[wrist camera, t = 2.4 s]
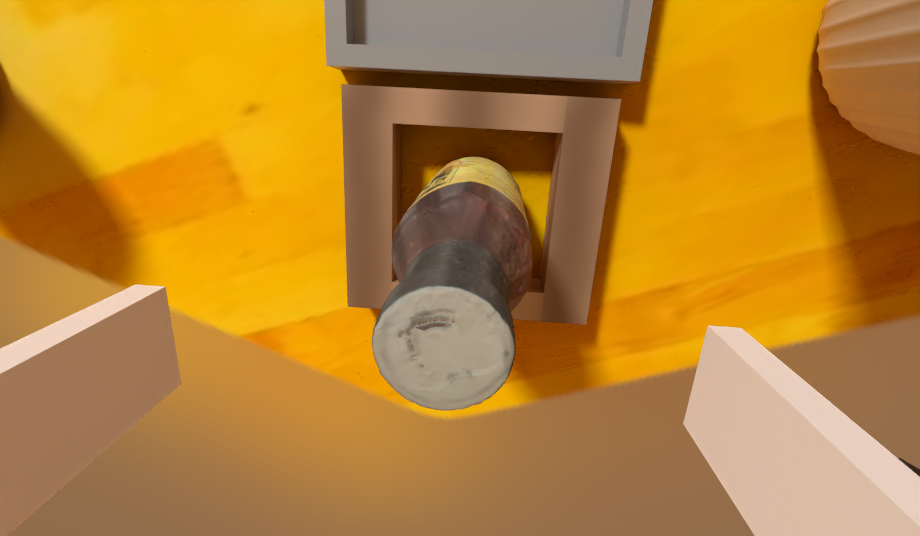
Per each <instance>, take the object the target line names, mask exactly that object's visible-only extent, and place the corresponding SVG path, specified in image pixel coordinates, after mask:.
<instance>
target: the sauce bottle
mask: <svg viewBox="0 0 920 536" xmlns="http://www.w3.org/2000/svg"><path fill="white" fill-rule="evenodd" d="M391 253H392V262H393V266H394V269H395V272H396V275H397V278H398V280H399V284H398V285H397V286H396V287H395V288H394V289H393V290H392V291H391V292H390V294H389V296H388V297H387V299H386V301H385V302H384V304H383V306H382V310H381V312H380V314H379V316H378V319H377V321H376V324H375V326H374V330H373V337H372V346H373V354H374V357H375V361H376V363H377V365H378V368H379V371H380V374H381V375H382V376H383V377H384V379H385V380H386V381H387V382H388V383H389V384H390V386H391V387H392V388H393V389H394V390H395V391H397V392H398V393H399V394H400V395H402V396H403V397H404V398H405V399H407V400H409V401H411V402H413V403H416V404H418V405H419V406H422V407H426V408H431V409H435V410H456V409H464V408H467V407H470V406H472V405H477V404H480V403H482V402H483V401H484V400H486V399H488V398H490V397H491V396H492V395H493V394H495V393H496V392H497V391H498V390H499V389H500V388H501V387H502V385H503V384H504V383H505V381H506V380H507V378H508V376H509V374H510V371H511V369H512V366H513V361H514V356H515V333H514V325H513V319H512V314H511V312H512V311H513V309H514V308H516V306H517V305H518V304H519V303H520V301H521V300H522V298H523V296H524V295H525V293H526V291H527V289H528V286H529V284H530V282H531V274H532V271H533V269H532V264H533V259H532V254H533V253H532V243H531V234H530V229H529V225H528V221H527V217H526V213H525V209H524V205H523V200H522V197H521V193H520V189H519V186H518V184H517V183H516V181H515V180H514V178H513V177H512V176H511V174H510V173H509V172H508V171H507V170H506V169H505V168H503V167H502V166H501V165H499V164H498V163H496V162H494V161H492V160H490V159H488V158H485V157H477V156H473V157H465V158H461V159H457V160H454V161H452V162H450V163H448V164H447V165H445V166H444V167H443V168H442V169H440V170H439V172H438V173H437V174H436V175H435V176H434V178H433V179H432V180H431V181H430V183H429V184H428V185H427V186H426V187H425V189H424V190H423V191H422V192H421V193H420V194H419V196H418V197H417V198H416V200H415V201H414V202H413V204H412V205H411V206H410V207H409V208H408V210H407V212H406V213H405V215H404V216H403V218H402V219H401V221H400V223H399V224H398V226H397V229H396V231H395V234H394V237H393V242H392V250H391Z"/></svg>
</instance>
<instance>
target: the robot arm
mask: <svg viewBox="0 0 920 536" xmlns="http://www.w3.org/2000/svg"><path fill="white" fill-rule="evenodd" d="M180 384H181V379H180V373H179V366H178V361H177V355H176V348H175V342H174V336H173V331H172V325H171V318H170V312H169V306H168V300H167V294H166V288H165V287H163V286H149V285H133V286H131V287H129V288H127V289H125V290H123V291H121V292H118V293H116V294H114V295H112V296H110V297H108V298H106V299H104V300H102V301H100V302H97V303H95V304H93V305H91V306H89V307H87V308H85V309H83V310H81V311H79V312H76V313H75V314H72V315H70V316H68V317H66V318H64V319H62V320H60V321H58V322H56V323H53V324H51V325H49V326H47V327H45V328H43V329H41V330H39V331H37V332H35V333H32V334H30V335H28V336H26V337H24V338H22V339H20V340H18V341H16V342H14V343H12V344H9V345H7V346H5V347H3V348H1V349H0V536H7V535H8V534H9V533H10V532H12V531H13V530H14V529H15V528H16V527H17V526H19V525H20V524H21V523H22V522H23V521H24V520H25V519H27V518H28V517H29V516H30V515H31V514H32V513H33V512H35V511H36V510H37V509H38V508H39V507H40V506H42V505H43V504H44V503H45V502H46V501H47V500H48V499H50V498H51V497H52V496H53V495H54V494H55V493H56V492H58V491H59V490H60V489H61V488H62V487H63V486H64V485H65V484H67V483H68V482H69V481H70V480H71V479H72V478H74V477H75V476H76V475H77V474H78V473H79V472H80V471H82V470H83V469H84V468H85V467H86V466H87V465H88V464H90V463H91V462H92V461H93V460H94V459H95V458H97V457H98V456H99V455H100V454H101V453H102V452H103V451H105V450H106V449H107V448H108V447H109V446H110V445H111V444H113V443H114V442H115V441H116V440H117V439H118V438H119V437H121V436H122V435H123V434H124V433H125V432H126V431H127V430H129V429H130V428H131V427H132V426H133V425H134V424H136V423H137V422H138V421H139V420H140V419H141V418H142V417H144V415H146V414H147V413H148V412H149V411H150V410H152V409H153V408H154V407H155V406H156V405H157V404H158V403H160V402H161V401H162V400H163V399H164V398H165V397H167V396H168V395H169V394H170V393H171V392H172V391H173V390H175V389H176V388H177V387H178V386H179V385H180ZM683 424H684V426H685V427H686V429H687V430H688V432H689V433H690V435H691V436H692V438H693V440H694V441H695V443H696V444H697V446H698V448H699V449H700V451H701V452H702V454H703V455H704V457H705V458H706V460H707V462H708V463H709V464H710V466H711V468H712V469H713V471H714V472H715V474H716V476H717V477H718V479H719V480H720V482H721V484H722V485H723V487H724V488H725V490H726V491H727V493H728V494H729V496H730V498H731V499H732V501H733V502H734V504H735V506H736V507H737V508H738V510H739V512H740V513H741V515H742V517H743V518H744V520H745V521H746V523H747V524H748V526H749V528H750V529H751V531H752V532H753V534H754V535H755V536H920V469H918V468H916V467H915V466H913V465H911V464H909V463H907V462H906V461H904V460H903V459H901V458H896V457H895V456H894V455H893V454H892V453H890V452H889V451H888V450H887V449H886V448H884V447H883V446H882V445H881V444H880V443H878V442H877V441H876V440H875V439H874V438H872V437H871V436H870V435H869V434H868V433H866V432H865V431H864V430H862V429H861V428H860V427H859V426H858V425H857V424H856V423H854V422H853V421H852V420H851V419H850V418H848V417H847V416H846V415H845V414H844V413H842V412H841V411H840V410H839V409H838V408H836V407H835V406H834V405H833V404H832V403H830V402H829V401H828V400H827V399H826V398H824V397H823V396H822V395H821V394H819V393H818V392H817V391H816V390H815V389H814V388H812V387H811V386H810V385H809V384H808V383H806V382H805V381H804V380H803V379H802V378H800V377H799V376H798V375H797V374H796V373H794V372H793V371H792V370H791V369H790V368H788V367H787V366H786V365H785V364H783V363H782V362H781V361H780V360H779V359H778V358H776V357H775V356H774V355H773V354H772V353H770V352H769V351H768V350H767V349H766V348H764V347H763V346H762V345H761V344H760V343H758V342H757V341H756V340H755V339H754V338H753V337H751V336H750V335H749V334H748V333H747V332H745V331H744V330H743V329H742V328H735V327H721V326H708V327H707V331H706V335H705V339H704V343H703V347H702V351H701V355H700V359H699V363H698V367H697V371H696V375H695V379H694V383H693V387H692V391H691V395H690V399H689V403H688V407H687V411H686V415H685V419H684V423H683Z"/></svg>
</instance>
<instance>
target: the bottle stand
mask: <svg viewBox="0 0 920 536" xmlns="http://www.w3.org/2000/svg"><path fill="white" fill-rule="evenodd" d="M620 105H621V99H611V98H592V97H573V96H555V95H536V94H517V93H498V92H479V91H460V90H441V89H422V88H403V87H385V86H366V85H347V84H342V120H343V155H344V191H345V226H346V262H347V297H348V307H361V308H374V309H382V306H383V304H384V302H385V301H386V299H387V297H388V296H389V294H390V292H391V291H392V290H393V289H394V288H395V287H396V286H397V285H398V284H399V280H398V278H397V275H396V272H395V269H394V266H393V262H392V253H391V250H392V242H393V237H394V234H395V231H396V229H397V226H398V224H399V223H400V221H401V178H402V124H413V125H431V126H449V127H466V128H484V129H501V130H519V131H537V132H554V133H556V139H555V148H554V156H553V165H552V174H551V182H550V191H549V200H548V209H547V217H546V226H545V235H544V243H543V252H542V261H541V269H540V278H535V277H531V282H530V284H529V286H528V289H527V291H526V293H525V295H524V296H523V298H522V300H521V301H520V303H519V304H518V305H517V306H516V308H514V309H513V311H512V312H511V314H512V319H517V320H530V321H543V322H556V323H569V324H582V325H586V324H587V317H588V311H589V304H590V298H591V291H592V285H593V279H594V272H595V266H596V259H597V253H598V246H599V240H600V234H601V227H602V221H603V214H604V208H605V201H606V195H607V189H608V182H609V176H610V169H611V163H612V156H613V150H614V144H615V137H616V131H617V124H618V118H619V111H620Z"/></svg>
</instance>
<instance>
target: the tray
mask: <svg viewBox="0 0 920 536" xmlns="http://www.w3.org/2000/svg"><path fill="white" fill-rule="evenodd" d="M324 3H325V30H326V56H327V66H330V67H333V68H336V69H340V70H355V71H375V72H394V73H414V74H433V75H453V76H472V77H491V78H511V79H530V80H550V81H569V82H589V83H608V84H632V83H636V82H640V78H641V72H642V66H643V60H644V54H645V48H646V42H647V36H648V30H649V24H650V18H651V12H652V6H653V0H324Z"/></svg>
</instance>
